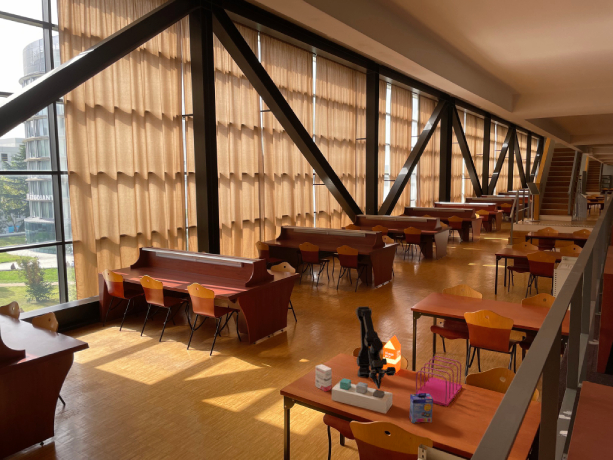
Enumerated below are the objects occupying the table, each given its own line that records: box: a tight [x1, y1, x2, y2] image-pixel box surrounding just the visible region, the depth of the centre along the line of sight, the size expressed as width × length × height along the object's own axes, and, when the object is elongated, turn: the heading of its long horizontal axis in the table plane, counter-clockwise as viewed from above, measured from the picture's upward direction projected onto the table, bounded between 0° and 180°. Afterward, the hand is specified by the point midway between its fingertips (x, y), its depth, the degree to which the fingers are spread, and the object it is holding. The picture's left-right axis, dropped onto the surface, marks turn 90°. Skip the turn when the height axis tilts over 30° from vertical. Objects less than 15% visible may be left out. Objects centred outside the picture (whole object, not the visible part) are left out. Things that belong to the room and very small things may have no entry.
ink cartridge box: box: [408, 393, 434, 424], centre depth 227 cm, size 10×6×14 cm, turn 95°
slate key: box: [355, 381, 369, 394], centre depth 244 cm, size 4×4×4 cm
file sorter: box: [414, 355, 463, 407], centre depth 254 cm, size 17×25×16 cm
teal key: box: [339, 377, 352, 390], centre depth 248 cm, size 4×4×4 cm
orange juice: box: [382, 335, 402, 373], centre depth 281 cm, size 8×9×20 cm
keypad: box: [331, 380, 393, 414], centre depth 245 cm, size 10×29×6 cm, turn 62°
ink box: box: [314, 363, 333, 392], centre depth 260 cm, size 8×5×12 cm, turn 39°
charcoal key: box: [373, 389, 384, 398], centre depth 240 cm, size 4×4×4 cm
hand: (379, 388), depth 239 cm, fingers closed
